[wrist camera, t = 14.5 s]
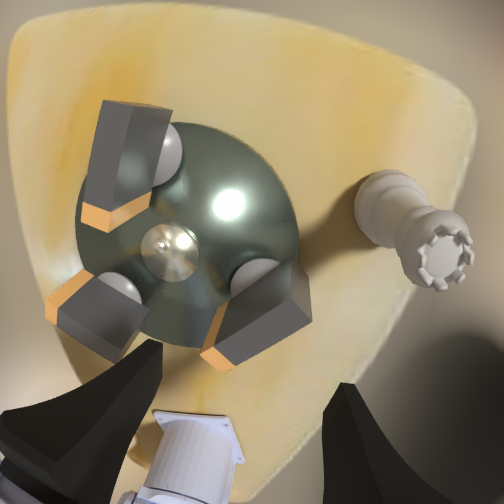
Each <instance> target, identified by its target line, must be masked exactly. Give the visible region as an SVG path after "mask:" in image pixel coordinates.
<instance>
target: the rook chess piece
mask: <svg viewBox="0 0 504 504" xmlns="http://www.w3.org/2000/svg"><path fill="white" fill-rule="evenodd" d="M354 216H355V219H356V221H357V224H358V227H359V229H360V230H361V231H362V232H363V233H364V234H365V235H366V236H367V237H368V238H369V239H370V240H371V241H372V242H373V243H375V244H378V245H380V246H383V247H385V248H396V251H397V254H398V256H399V257H400V258H401V263H402V266H403V270H404V274H405V275H406V276H407V277H408V278H409V279H410V281H411V282H412V283H413V284H416V285H418V286H421V287H424V288H431V287H434V288H435V290H436V291H437V292H438V291H447V289H448V284H447V283H448V282H450V281H452V280H453V281H454V282H455V283H456V284H457V285H459V284H460V283H461V282H462V281H463V280H464V279H465V278H466V276H465V275H464V274H463V273H462V272H461V271H462V269H463V268H464V266H465V264H467V265H473V261H474V256H475V253H474V252H472V251H471V250H470V244H471V243H473V241H472V240H471V238H470V236H469V230H468V227H467V225H466V224H465V222H464V221H463V219H462V218H461V217H460V216H458V215H457V214H455V213H453V212H452V211H450V210H439V209H437V208H435V207H433V206H429V203H428V200H427V197H426V193H425V191H424V190H423V189H422V187H421V186H420V185H419V184H418V182H417V181H416V180H415V179H413V178H411V176H409V175H407V174H405V173H403V172H401V171H399V170H382V171H379V172H377V173H375V174H372V175H370V176H369V177H368V178H367V179H366V180H365V181H364V183H363V184H362V185H361V186H360V187H359V190H358V192H357V195H356V197H355V200H354Z"/></svg>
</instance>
